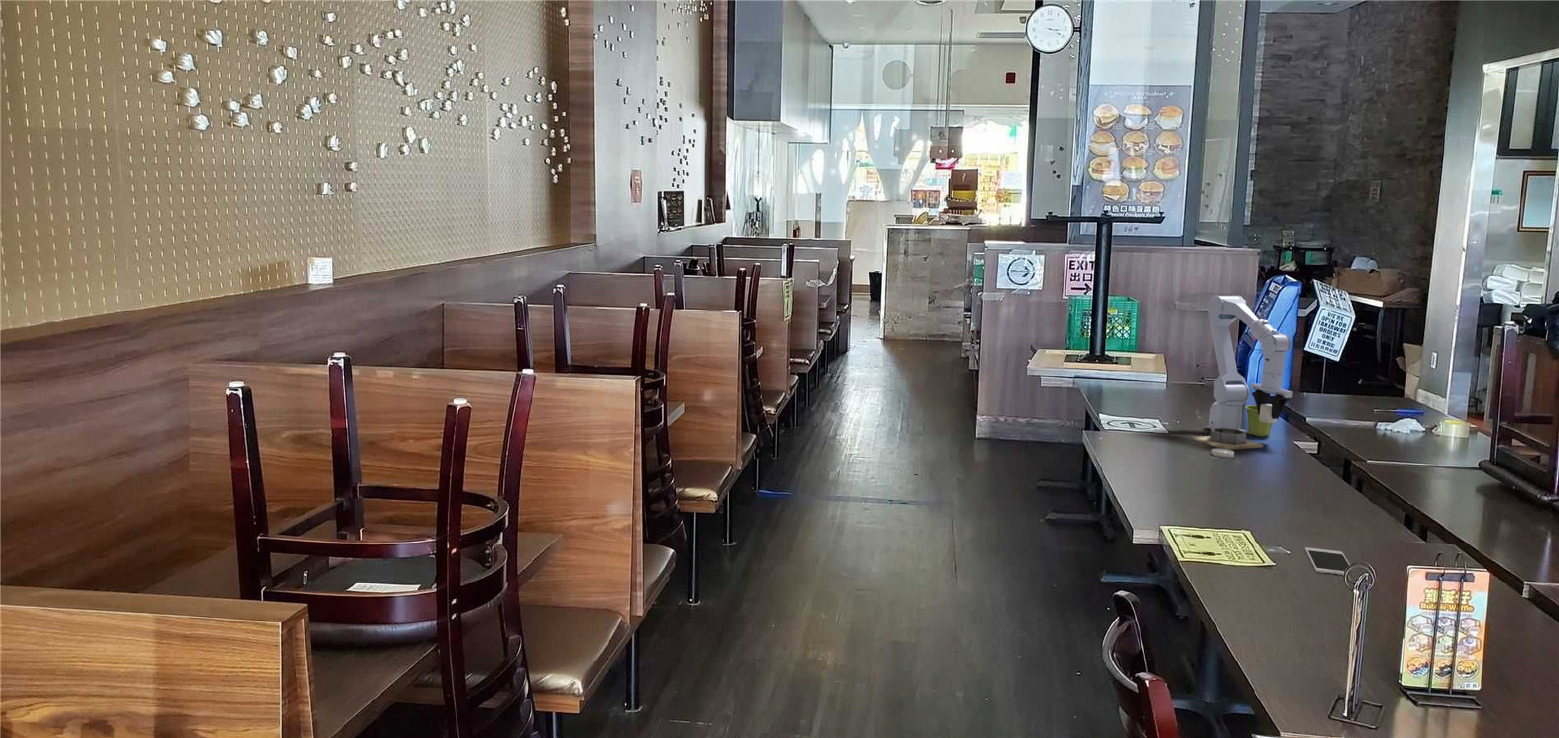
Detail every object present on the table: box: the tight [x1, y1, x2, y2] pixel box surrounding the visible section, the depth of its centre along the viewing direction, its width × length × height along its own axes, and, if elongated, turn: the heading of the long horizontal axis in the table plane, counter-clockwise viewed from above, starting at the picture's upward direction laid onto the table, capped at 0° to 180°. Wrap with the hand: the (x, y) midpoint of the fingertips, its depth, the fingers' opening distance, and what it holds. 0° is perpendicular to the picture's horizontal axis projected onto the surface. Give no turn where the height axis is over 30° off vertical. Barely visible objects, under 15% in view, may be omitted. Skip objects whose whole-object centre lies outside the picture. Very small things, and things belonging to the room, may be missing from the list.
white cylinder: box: [1259, 403, 1278, 424], centre depth 324 cm, size 5×5×5 cm
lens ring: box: [1209, 428, 1248, 445], centre depth 322 cm, size 10×10×3 cm
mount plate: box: [1192, 435, 1264, 451], centre depth 323 cm, size 14×14×1 cm
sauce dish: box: [1211, 448, 1235, 459], centre depth 307 cm, size 6×6×2 cm
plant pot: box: [1245, 404, 1273, 437], centre depth 336 cm, size 9×9×9 cm
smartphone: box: [1304, 546, 1351, 577], centre depth 215 cm, size 7×16×1 cm, turn 161°
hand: (1268, 416), depth 324 cm, fingers closed on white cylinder, 5 cm apart
